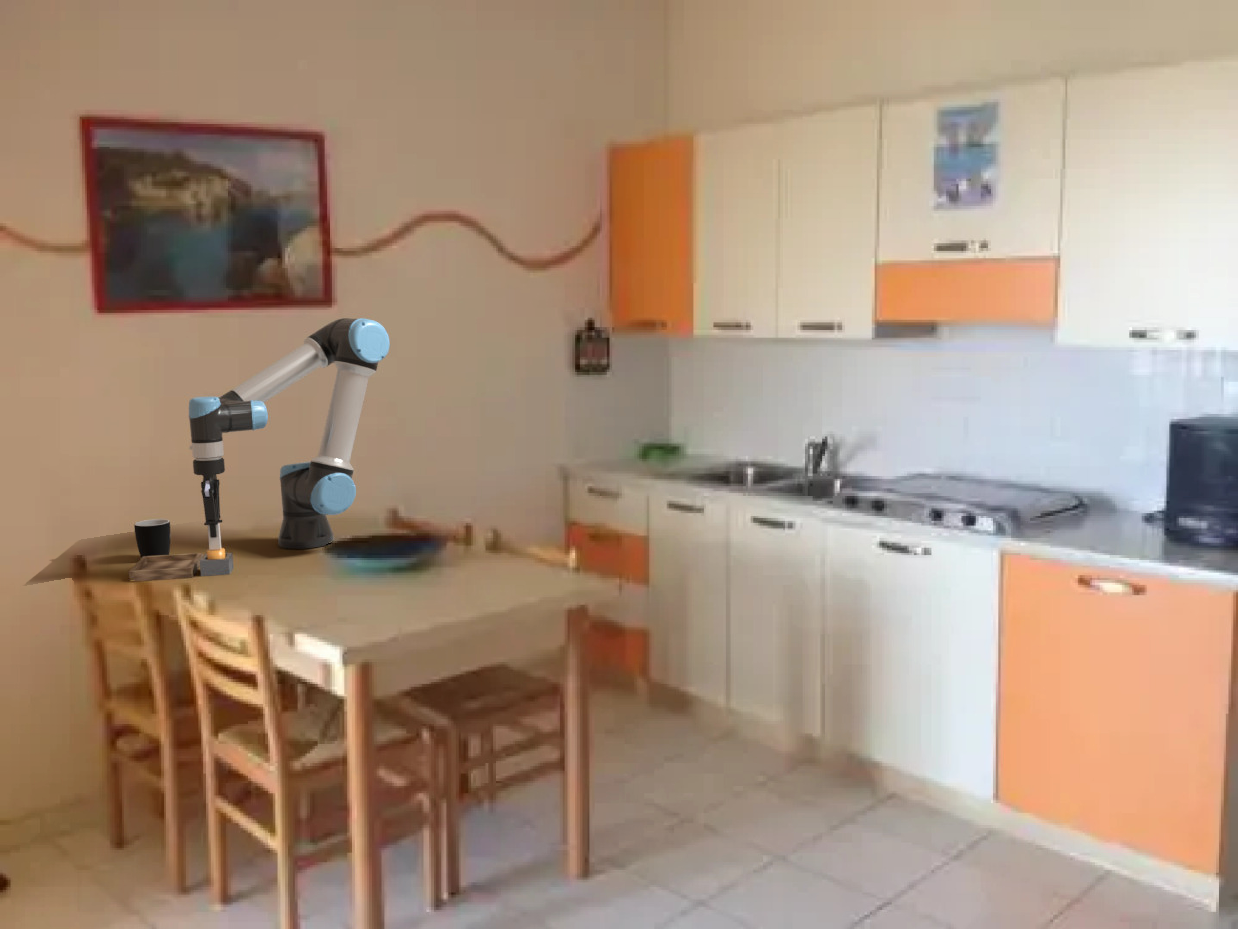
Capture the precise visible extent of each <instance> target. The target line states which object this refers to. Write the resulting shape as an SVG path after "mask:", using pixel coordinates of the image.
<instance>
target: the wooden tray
mask: <svg viewBox="0 0 1238 929" xmlns="http://www.w3.org/2000/svg"><path fill="white" fill-rule="evenodd" d="M203 556H204V554H203V552H196V553H181V554H180V553H179V554H178V553H177V554H176V553H175V554H169V555H158V556H143V557H142V558H141V557H140V559H139V560H138V562H137V563H135V564H134V566H133V567H132V568H131V569H130V570H129V571H128V577H129V581H130V580H135V581H134V582H143V581H144V582H145V581H159V580H160V581H161V580H174V579H175V580H177V579H191V578H193V577H194V576H195V574H196V573H197V572H198V570H199V569H200V560H201V558H202V557H203ZM196 571H197V572H196Z"/></svg>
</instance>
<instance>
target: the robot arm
mask: <svg viewBox="0 0 1238 929" xmlns="http://www.w3.org/2000/svg"><path fill="white" fill-rule="evenodd" d="M390 341H391V340H390V337H389V334H388V332H387V330H386V329H385V327H384V326H383V325H382V324H381V323H380V322H378V321H376V320H373V319H368V318H364V317H363V318H361V317H360V318H345V317H343V318H339V319H335V320H333V321H331V322H330V323H327V324H326V325H324V326H323V327H321V328H320V329H318V330H317V331H315V332H314V333H312V334H310V335H309V336H307V337H305V339H304V341H303V344H302V345H300V346H298V347H297V348H295V349H294V350H293V351H291V352H289V353H287V354H286V355H284V356H283V357H281V358H279V359H278V360H277V361H275V362H274V363H271V364H270V365H268V366H267V367H266V368H264V369H262V370H261V371H259V372H258V373H256V374H255V375H253V376H251V377H250V378H248V379H246V380H245V381H244V382H242V383H240V384H239V385H237V386H235V387H234V388H233V389H231V390H229V391H227V392H226V393H224V394H222V395H221V396H215V395H214V396H195V397H193V398H190V400H188V401H189V402H188V419H189V426H190V427H189V428H190V438H191V439H190V440H191V445H189V448H188V449H189V450H192V451H191V453H192V457H193V461H192V468H193V474H194V475H197V476H202V477H203V478H202V481H201V482H200V487H201V490H200V492H201V496H202V501H203V502H202V503H203V508H204V509H203V510H204V519H205V522H204V523H203V525H204V526H207V534H208V535H207V536H208V547H209V548H208V549H209V550H218V549H221V548H222V540H221V528H220V527H221V525H220V523H223V519H221V504H220V501H221V500H220V485H221V484H220V483H221V482H220V479H218V476H217V475H220V474H223V473H225V470H226V469H225V468H226V467H225V458H224V457H223V456H224V455H225V453H224V440H223V434H224V433H225V434H226V433H227V434H228V433H234V432H243V431H244V432H245V431H246V432H247V431H255V430H260V429H264V428H265V427H266V426H267V424H268V419H269V415H268V414H269V413H268V410H267V409H268V408H267V407H266V404H265V403H266V402H267V401H270V400H271V399H272V398H274V397H275V396H277V395H279V394H281V393H282V392H283V391H285V390H286V389H288V388H289V387H291V386H292V385H294V384H296V382H298V381H301V379H303V378H304V377H306V376H307V375H310V374H312V373H313V372H314V371H316V370H317V369H319V368H322V369H325V368H326V367H329V366H330V365H332V364H334V365H335V367H336V369H337V372H336V377H335V381H334V385H333V389H332V394H331V398H330V402H329V408H328V410H327V415H326V419H325V424H324V428H323V433H322V436H321V441H320V445H319V449H318V450H319V451H318V454H317V455H316V456H315V457H314V458H312V459H311V460H310V461H305V462H297V463H290V464H285V465H284V464H283V465H282V466H281V467H280V468H279V472H280V473H279V480H280V490H281V491H280V492H281V508H282V520H281V525H280V528H279V534H278V537H277V538H278V539H277V540H278V541H277V542H278V546H279V547H280V548H283V549H288V550H289V549H290V550H296V549H297V550H302V549H303V550H304V549H306V550H307V549H313V548H320V547H324V546H327V545H326V544H328V543H329V542H331V541H333V540H334V541H335V538H334V532H333V530H332V527H331V524H330V521H329V519H328V517H327V516H336V515H337V516H338V515H340V514H342V513H345V511H347V510H348V509H349V508H350V507H351V506H352V505H353V503H354V502H355V498H356V497H357V489H356V488H357V486H356V484H355V483H354V479H353V475H354V470H355V469H354V467H353V466H352V464H351V459H352V458H351V457H352V453H353V448H354V444H355V440H356V437H357V436H356V435H357V431H358V427H359V422H360V418H361V414H362V410H363V404H364V402H365V401H364V400H365V396H366V392H367V386H368V383H369V379H370V377H371V376H373V375H375V374H376V373H377V369H378V365H379V362H382V360H384V359H385V358H386V356H387V354H388V353H389V351H390V346H391V345H390ZM328 545H329V544H328Z"/></svg>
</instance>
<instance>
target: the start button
mask: <svg viewBox="0 0 1238 929" xmlns="http://www.w3.org/2000/svg"><path fill="white" fill-rule="evenodd" d="M225 553H226V549H225V548H224V547H221V549H218V550H209V548H208V549H207V550H206V554H207V559H223V558H225Z"/></svg>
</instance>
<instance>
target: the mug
mask: <svg viewBox="0 0 1238 929" xmlns="http://www.w3.org/2000/svg"><path fill="white" fill-rule="evenodd" d="M134 535H135V540H136V545H137V549H138V552H139V553H138V554H139V556H140V559H141V558H142V557H143V556H158V555H170V550H171V522H170V520H169V519H165V518H152V519H151V518H150V519H146V520H141V521H137V522H135V523H134Z"/></svg>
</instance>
